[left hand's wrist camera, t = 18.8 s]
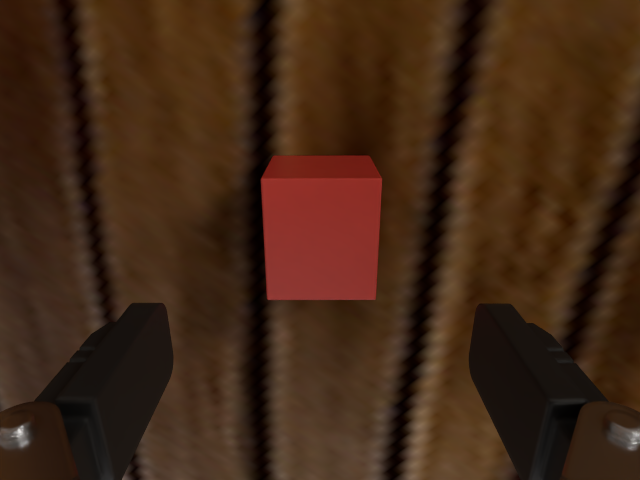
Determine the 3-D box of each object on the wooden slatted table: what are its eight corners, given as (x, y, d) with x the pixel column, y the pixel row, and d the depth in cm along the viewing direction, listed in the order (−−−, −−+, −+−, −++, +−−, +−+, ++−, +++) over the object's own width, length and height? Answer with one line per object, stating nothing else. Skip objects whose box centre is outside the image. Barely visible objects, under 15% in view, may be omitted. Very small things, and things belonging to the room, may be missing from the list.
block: (369, 155, 20) (382, 178, 16) (365, 256, 22) (375, 300, 18) (272, 155, 20) (260, 178, 16) (276, 256, 22) (266, 300, 18)
